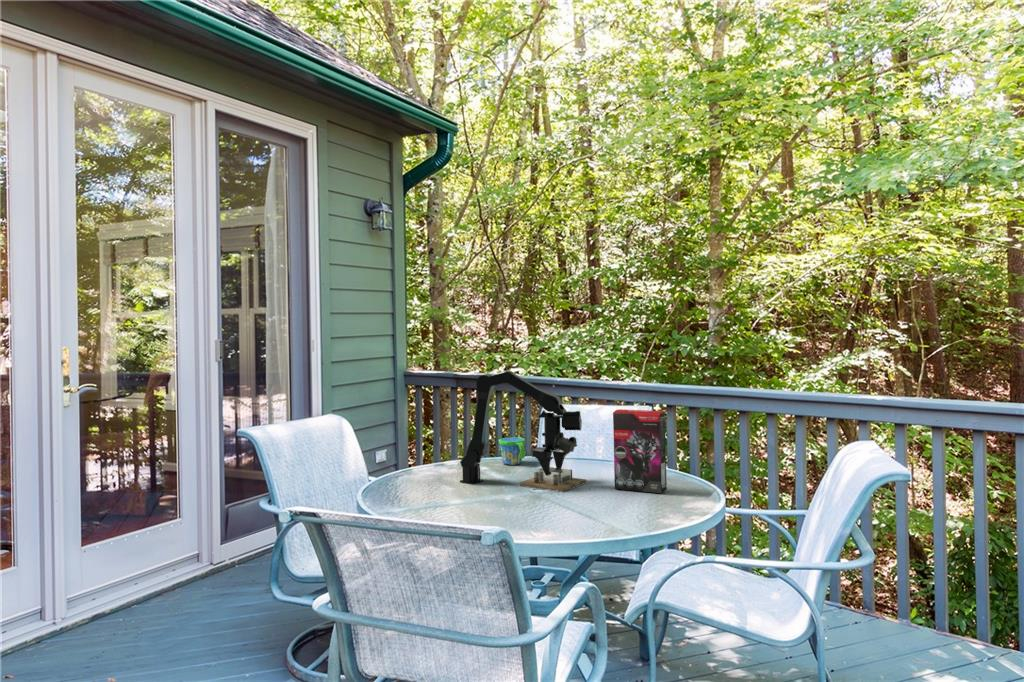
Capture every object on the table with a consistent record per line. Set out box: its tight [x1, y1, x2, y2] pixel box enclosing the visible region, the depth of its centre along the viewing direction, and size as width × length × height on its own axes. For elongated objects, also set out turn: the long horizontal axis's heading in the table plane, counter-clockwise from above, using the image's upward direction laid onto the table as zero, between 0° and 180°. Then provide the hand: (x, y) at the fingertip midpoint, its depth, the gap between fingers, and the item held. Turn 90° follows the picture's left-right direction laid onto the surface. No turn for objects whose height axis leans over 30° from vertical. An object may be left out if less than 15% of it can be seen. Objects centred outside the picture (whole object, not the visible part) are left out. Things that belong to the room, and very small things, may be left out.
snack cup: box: [498, 436, 526, 466], centre depth 294 cm, size 16×10×10 cm
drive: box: [534, 466, 572, 484], centre depth 256 cm, size 6×11×4 cm, turn 54°
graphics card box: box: [612, 409, 668, 494], centre depth 245 cm, size 17×7×27 cm, turn 62°
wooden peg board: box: [519, 468, 588, 492], centre depth 256 cm, size 16×18×5 cm
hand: (553, 473), depth 256 cm, fingers open, 7 cm apart
